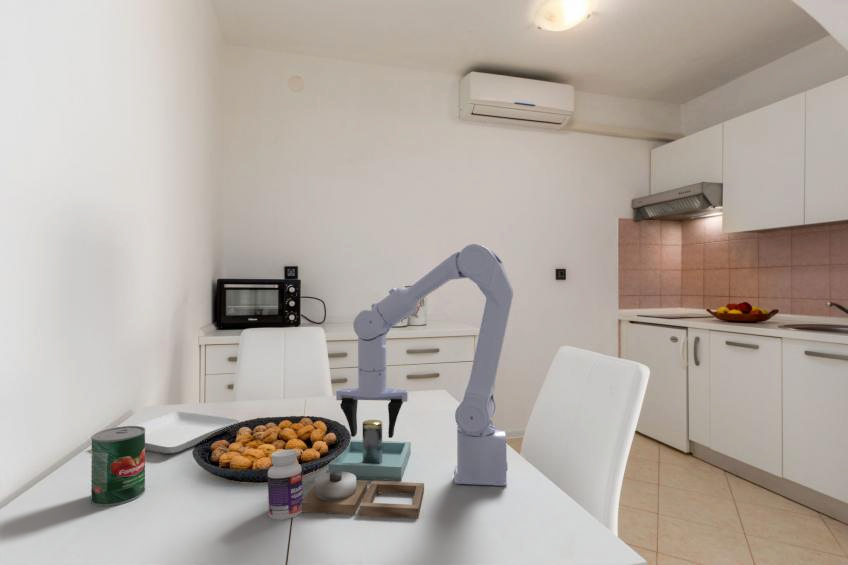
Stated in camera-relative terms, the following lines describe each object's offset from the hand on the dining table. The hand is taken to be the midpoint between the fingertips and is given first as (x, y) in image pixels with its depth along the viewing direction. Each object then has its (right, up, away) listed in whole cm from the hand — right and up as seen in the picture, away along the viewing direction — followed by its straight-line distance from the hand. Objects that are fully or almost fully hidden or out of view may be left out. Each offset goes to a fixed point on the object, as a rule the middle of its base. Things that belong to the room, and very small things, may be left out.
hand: (372, 435), depth 95 cm
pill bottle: (-12, -7, -19) cm, 24 cm away
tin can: (0, -5, 0) cm, 5 cm away
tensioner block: (+1, -6, -16) cm, 17 cm away
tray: (0, -6, 0) cm, 6 cm away
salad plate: (-49, -7, +16) cm, 52 cm away
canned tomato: (-43, -6, -14) cm, 45 cm away
